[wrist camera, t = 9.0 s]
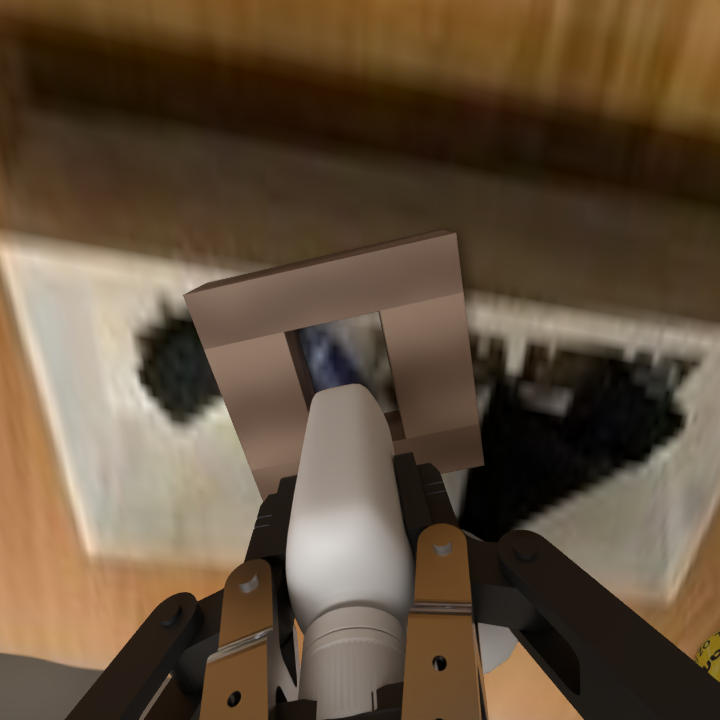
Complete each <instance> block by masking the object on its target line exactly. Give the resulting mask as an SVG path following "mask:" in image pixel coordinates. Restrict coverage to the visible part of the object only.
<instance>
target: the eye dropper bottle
mask: <svg viewBox="0 0 720 720" xmlns="http://www.w3.org/2000/svg"><path fill="white" fill-rule="evenodd" d="M393 455H395V453H394V448H393V443H392V438H391V434H390V430H389V426H388V423H387V421H386V418H385V416H384V414H383V412H382V410H381V408H380V406H379V404H378V403H377V401H376V400H375V398H374V397H373V395H372V394H371V393H370V392H369V390H368V389H367V388H366V387H364V386H362V385H361V384H349V385H343V386H339V387H334V388H329V389H325V390H321V391H320V392H318V393H316V394H315V396H314V397H313V399H312V403H311V407H310V412H309V417H308V422H307V427H306V433H305V438H304V443H303V448H302V454H301V459H300V465H299V470H298V476H297V481H296V487H295V492H294V498H293V504H292V510H291V516H290V522H289V529H288V536H287V547H286V579H287V587H288V593H289V597H290V602H291V606H292V609H293V612H294V615H295V618H296V620H297V623H298V625H299V627H300V629H301V631H302V633H303V635H304V642H303V652H302V662H301V672H300V682H299V692H298V700H301V699H307V700H314V701H317V714H316V720H325V719H337V718H344V717H349V716H354V715H358V714H361V713H366V712H372V698H371V692H372V691H373V697H374V711H375V710H376V709H377V695H376V690H377V689H379V688H381V687H383V686H385V685H387V684H393V683H399V682H404V672H405V657H406V642H407V627H408V614H409V608H410V606H411V605H414V596H415V578H416V563H415V559H414V555H413V551H412V548H411V544H410V540H409V535H408V531H407V526H406V520H405V515H404V510H403V504H402V499H401V494H400V488H399V483H398V478H397V472H396V467H395V461H394V456H393Z"/></svg>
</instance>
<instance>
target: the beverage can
mask: <svg viewBox="0 0 720 720" xmlns="http://www.w3.org/2000/svg"><path fill="white" fill-rule="evenodd" d="M695 662H696V663H697V664H698V665H699V666H701V667H702V668H703V669H704V670H705V671H707V672H708V673H709V674H710V675H712V676H713V677H714V678H715V679H716V680H718V681H719V682H720V630H719V631H717V632H716V633H715V634H713V635H712V636H711V637H709V638H708V639H707V640H706V641H705V642H704V643H703V644H702V645H701V647H700V648H699V650H698V652H697V654H696V657H695Z"/></svg>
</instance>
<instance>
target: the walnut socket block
mask: <svg viewBox="0 0 720 720" xmlns="http://www.w3.org/2000/svg"><path fill="white" fill-rule="evenodd" d="M183 296H184V299H185V302H186V304H187V307H188V309H189V312H190V314H191V317H192V320H193V322H194V325H195V327H196V330H197V332H198V335H199V338H200V340H201V343H202V345H203V348H204V350H205V353H206V356H207V358H208V361H209V363H210V366H211V368H212V371H213V374H214V376H215V379H216V381H217V384H218V386H219V389H220V392H221V394H222V397H223V399H224V402H225V405H226V407H227V410H228V412H229V415H230V417H231V420H232V423H233V425H234V428H235V430H236V433H237V435H238V438H239V441H240V443H241V446H242V448H243V451H244V453H245V456H246V459H247V461H248V464H249V466H250V469H251V471H252V474H253V477H254V479H255V482H256V484H257V487H258V489H259V492H260V495H261V497H262V500H263V502H264V501H265V499H266V498H267V497H268V495H270V494H275V493H277V491H278V487H279V483H280V479H281V478H283V477H288V476H293V475H298V470H299V465H300V459H301V454H302V448H303V443H304V438H305V433H306V427H307V422H308V417H309V412H310V407H311V403H312V399H313V397H314V396H315V391H314V388H313V384H312V381H311V378H310V374H309V371H308V367H307V364H306V360H305V357H304V353H303V350H302V346H301V343H300V340H299V336H298V333H297V329H300V328H304V327H309V326H313V325H318V324H322V323H327V322H331V321H336V320H340V319H345V318H349V317H354V316H359V315H363V314H368V313H372V312H377V311H378V312H379V316H380V321H381V326H382V331H383V336H384V341H385V346H386V350H387V355H388V360H389V365H390V370H391V375H392V380H393V385H394V389H395V394H396V399H397V404H398V409H399V411H394V412H390V413H385V414H384V416H385V418H386V421H387V423H388V426H389V430H390V434H391V438H392V443H393V448H394V453H395V455H398V454H403V453H407V452H412V451H413V455H414V458H415V462H416V465H420V464H425V463H431V464H432V465H433V466H435V467H436V468H437V469H438V470H439V472H440V474H442V473H447V472H452V471H457V470H462V469H468V468H473V467H478V466H483V465H484V458H483V450H482V442H481V434H480V425H479V417H478V409H477V401H476V392H475V384H474V376H473V368H472V359H471V351H470V343H469V335H468V326H467V318H466V310H465V302H464V293H463V285H462V277H461V269H460V261H459V252H458V244H457V236H456V233H455V232H450V231H445V230H436V231H431V232H427V233H423V234H418V235H414V236H409V237H405V238H401V239H396V240H392V241H388V242H383V243H379V244H375V245H370V246H366V247H362V248H357V249H353V250H348V251H344V252H340V253H335V254H331V255H327V256H322V257H318V258H314V259H309V260H305V261H300V262H296V263H292V264H287V265H283V266H279V267H274V268H270V269H266V270H261V271H257V272H253V273H248V274H244V275H239V276H235V277H231V278H226V279H222V280H218V281H213V282H209V283H206V284H204V285H202V286H200V287H198V288H196V289H194V290H192V291H190V292H188V293H186V294H184V295H183Z"/></svg>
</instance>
